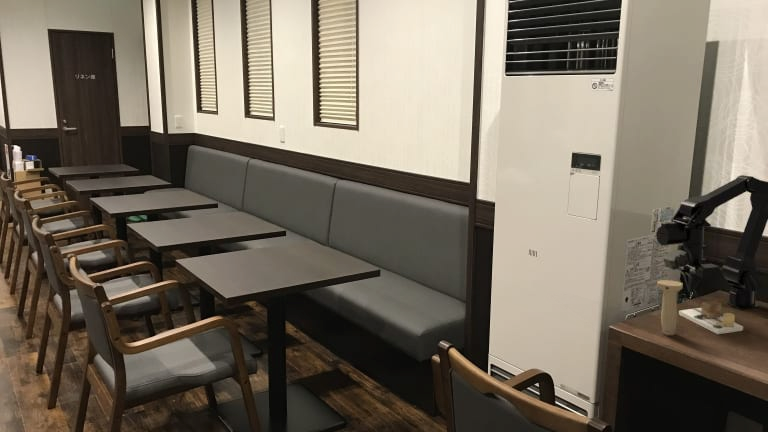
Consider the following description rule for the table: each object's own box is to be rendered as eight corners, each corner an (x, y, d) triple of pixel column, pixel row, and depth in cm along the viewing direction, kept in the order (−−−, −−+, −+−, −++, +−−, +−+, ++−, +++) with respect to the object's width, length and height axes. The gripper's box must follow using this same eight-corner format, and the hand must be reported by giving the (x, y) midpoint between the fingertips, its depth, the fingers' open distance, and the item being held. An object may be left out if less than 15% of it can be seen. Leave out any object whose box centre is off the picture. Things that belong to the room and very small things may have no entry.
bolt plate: (702, 311, 187) (702, 297, 186) (742, 330, 171) (743, 315, 170) (678, 314, 185) (679, 300, 184) (717, 334, 169) (718, 319, 168)
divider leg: (713, 313, 180) (713, 300, 180) (720, 316, 177) (721, 303, 177) (693, 316, 179) (694, 303, 178) (700, 319, 176) (701, 306, 176)
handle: (678, 339, 168) (679, 287, 165) (653, 334, 172) (654, 283, 169) (683, 333, 171) (684, 282, 168) (659, 328, 175) (660, 279, 173)
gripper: (649, 238, 189) (648, 286, 192) (689, 252, 171) (687, 304, 174) (681, 234, 191) (679, 282, 194) (724, 248, 173) (721, 300, 176)
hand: (690, 291), depth 184 cm, fingers closed
